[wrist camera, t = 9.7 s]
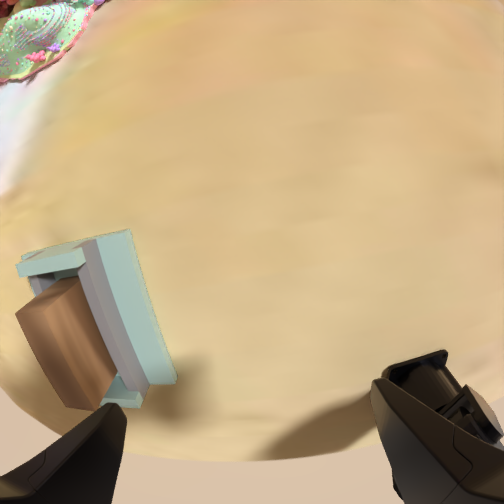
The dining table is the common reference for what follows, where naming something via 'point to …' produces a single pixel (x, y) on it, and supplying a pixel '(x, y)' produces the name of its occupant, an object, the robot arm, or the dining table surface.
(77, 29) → the candy landscape model
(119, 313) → the light blue tray
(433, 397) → the robot arm
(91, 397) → the brown wooden block
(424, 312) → the dining table surface
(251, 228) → the dining table surface
